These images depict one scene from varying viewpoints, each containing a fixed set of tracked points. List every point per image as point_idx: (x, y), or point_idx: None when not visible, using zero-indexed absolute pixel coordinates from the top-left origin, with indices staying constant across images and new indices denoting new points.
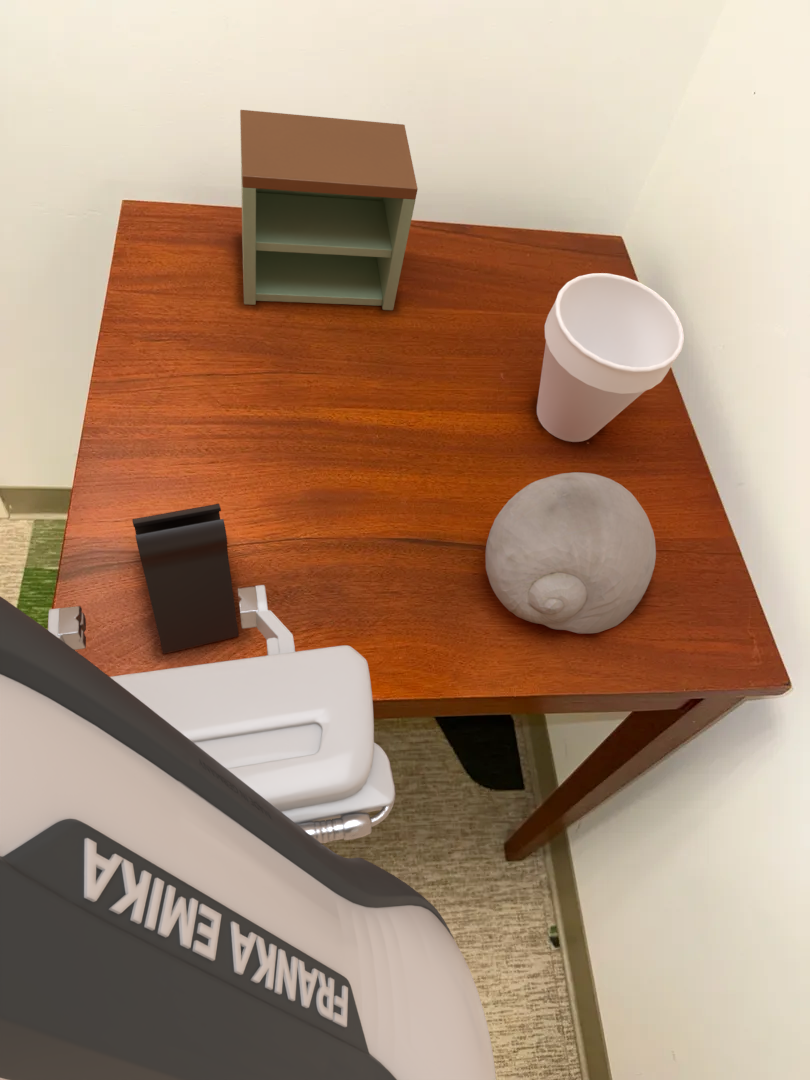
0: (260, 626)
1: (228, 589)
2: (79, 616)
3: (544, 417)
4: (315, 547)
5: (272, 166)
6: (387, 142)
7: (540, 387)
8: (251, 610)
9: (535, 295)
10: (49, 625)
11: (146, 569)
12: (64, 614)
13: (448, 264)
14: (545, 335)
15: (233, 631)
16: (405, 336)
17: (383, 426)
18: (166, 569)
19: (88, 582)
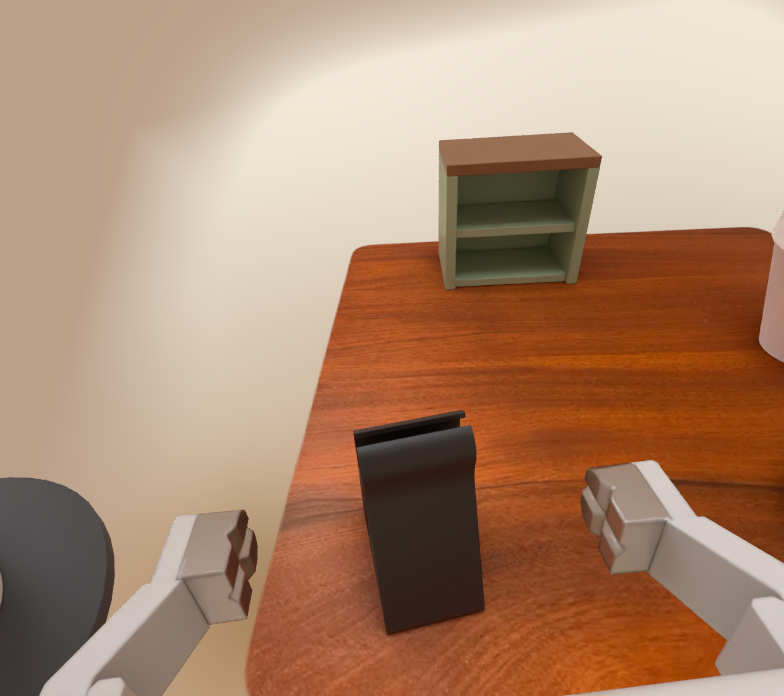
0: (672, 566)
1: (473, 536)
2: (237, 533)
3: (781, 347)
4: (558, 491)
5: (470, 158)
6: (562, 140)
7: (769, 315)
8: (652, 517)
9: (706, 263)
10: (163, 552)
11: (369, 501)
12: (204, 526)
13: (614, 251)
14: (782, 246)
15: (478, 602)
16: (594, 299)
17: (598, 368)
18: (395, 502)
19: (301, 535)
